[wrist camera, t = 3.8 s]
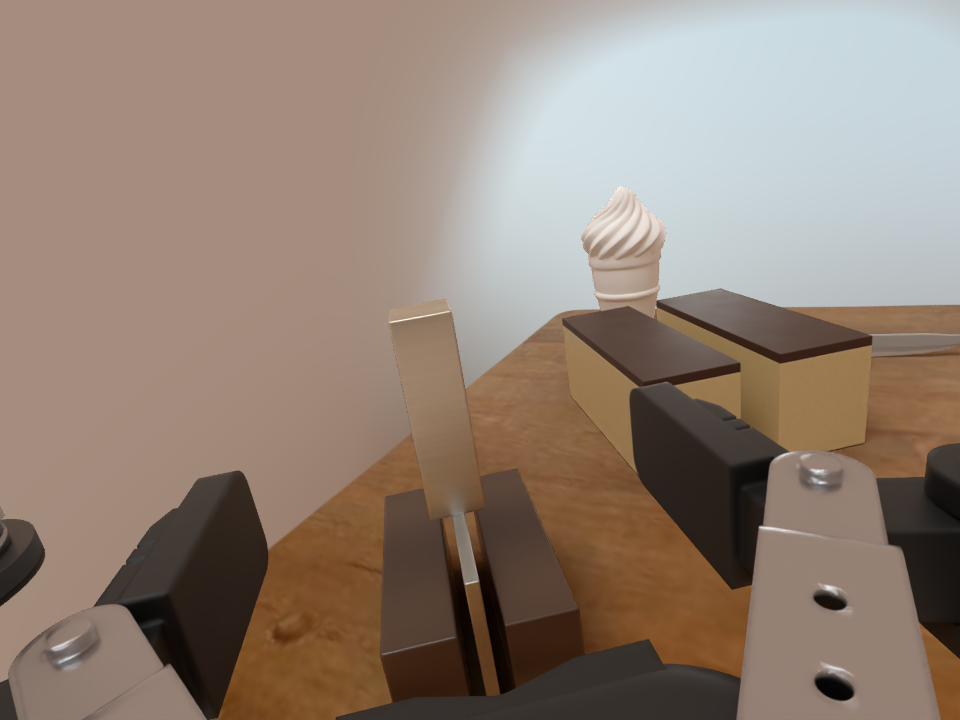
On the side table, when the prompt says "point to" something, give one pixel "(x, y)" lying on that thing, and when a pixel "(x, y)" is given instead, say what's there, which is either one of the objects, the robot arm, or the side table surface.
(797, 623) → the robot arm
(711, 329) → the cake
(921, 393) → the side table surface
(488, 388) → the side table surface
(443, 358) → the tall metal bar
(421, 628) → the knife block
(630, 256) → the ice cream cone
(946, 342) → the knife
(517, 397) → the side table surface
